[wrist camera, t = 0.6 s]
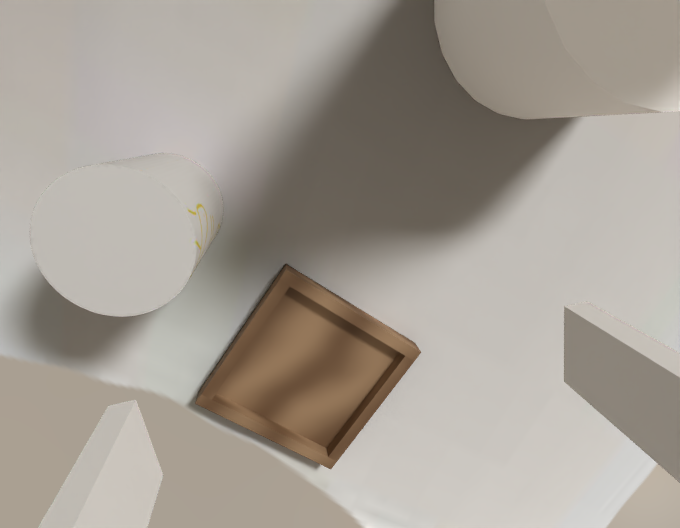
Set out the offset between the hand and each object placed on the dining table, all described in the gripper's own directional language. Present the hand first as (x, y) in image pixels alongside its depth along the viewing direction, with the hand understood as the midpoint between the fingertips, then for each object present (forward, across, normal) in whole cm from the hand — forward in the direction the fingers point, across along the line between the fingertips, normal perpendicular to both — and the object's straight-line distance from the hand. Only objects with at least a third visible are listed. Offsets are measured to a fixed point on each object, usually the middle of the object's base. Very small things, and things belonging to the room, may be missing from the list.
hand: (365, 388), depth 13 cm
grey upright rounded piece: (+24, -10, +3) cm, 27 cm away
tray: (+24, -2, -13) cm, 27 cm away
